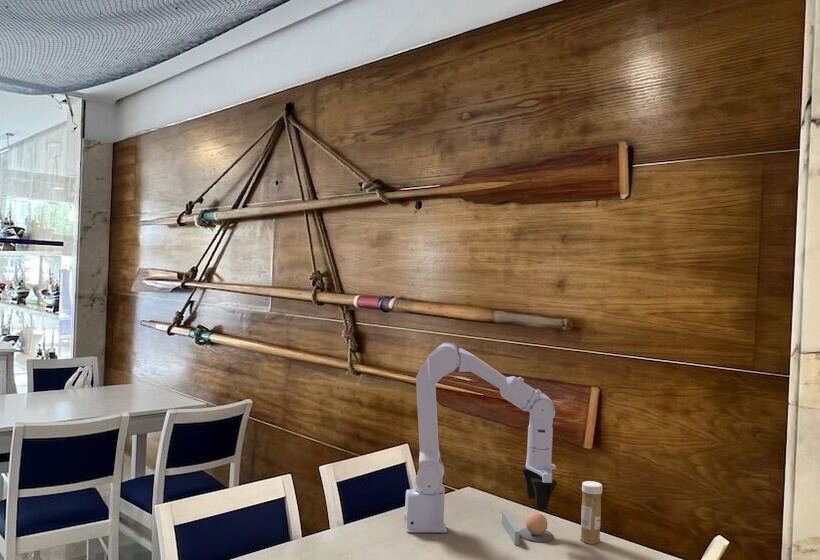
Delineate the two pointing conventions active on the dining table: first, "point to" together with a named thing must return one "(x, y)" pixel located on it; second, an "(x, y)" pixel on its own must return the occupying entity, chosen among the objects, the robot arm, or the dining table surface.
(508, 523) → the acrylic wall
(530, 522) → the terracotta ball
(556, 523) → the dining table surface
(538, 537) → the pad
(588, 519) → the spice jar
